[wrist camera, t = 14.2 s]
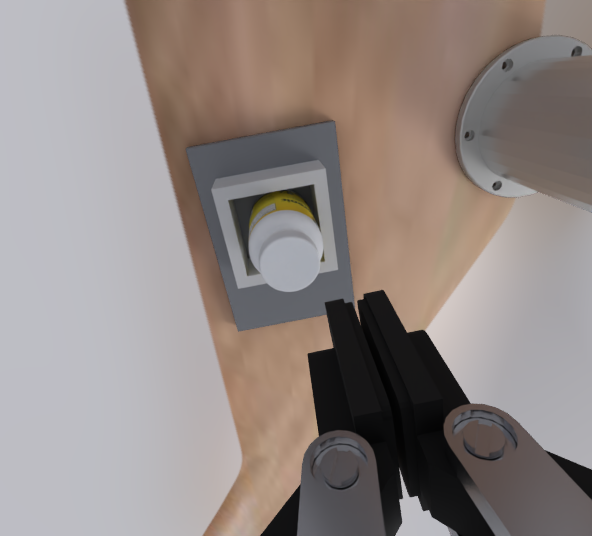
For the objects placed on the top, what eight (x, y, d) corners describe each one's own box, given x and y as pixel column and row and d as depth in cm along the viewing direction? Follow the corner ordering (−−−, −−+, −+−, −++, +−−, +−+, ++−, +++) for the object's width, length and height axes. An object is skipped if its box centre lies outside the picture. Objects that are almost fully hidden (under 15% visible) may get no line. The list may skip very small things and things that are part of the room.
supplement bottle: (323, 219, 33) (347, 268, 24) (278, 257, 34) (285, 316, 26) (283, 173, 31) (294, 209, 22) (236, 215, 32) (229, 265, 23)
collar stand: (332, 120, 30) (344, 125, 26) (352, 303, 39) (363, 329, 35) (187, 147, 30) (177, 156, 26) (238, 325, 38) (236, 354, 34)
